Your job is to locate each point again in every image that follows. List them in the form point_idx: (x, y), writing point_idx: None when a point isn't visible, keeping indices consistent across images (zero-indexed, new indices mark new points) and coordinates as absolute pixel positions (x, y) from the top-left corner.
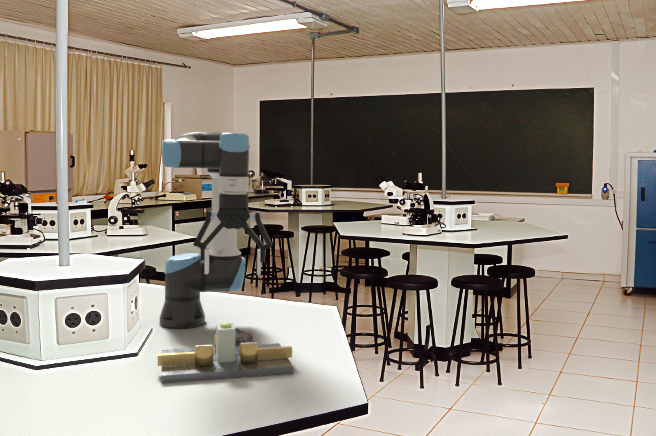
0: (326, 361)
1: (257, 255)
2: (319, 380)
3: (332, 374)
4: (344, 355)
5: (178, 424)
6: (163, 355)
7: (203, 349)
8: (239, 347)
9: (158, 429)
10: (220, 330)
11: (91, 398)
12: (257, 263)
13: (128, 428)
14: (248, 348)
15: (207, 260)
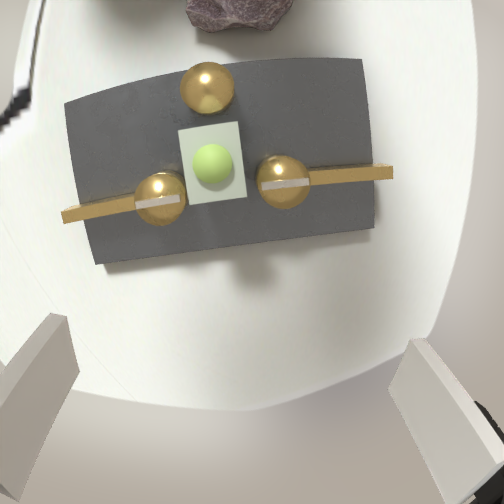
0: (439, 159)
1: (436, 481)
2: (404, 260)
3: (432, 232)
4: (472, 133)
5: (171, 395)
6: (74, 221)
7: (158, 216)
8: (255, 75)
9: (150, 401)
10: (196, 202)
11: (30, 308)
12: (416, 440)
13: (114, 394)
14: (282, 208)
15: (46, 436)
